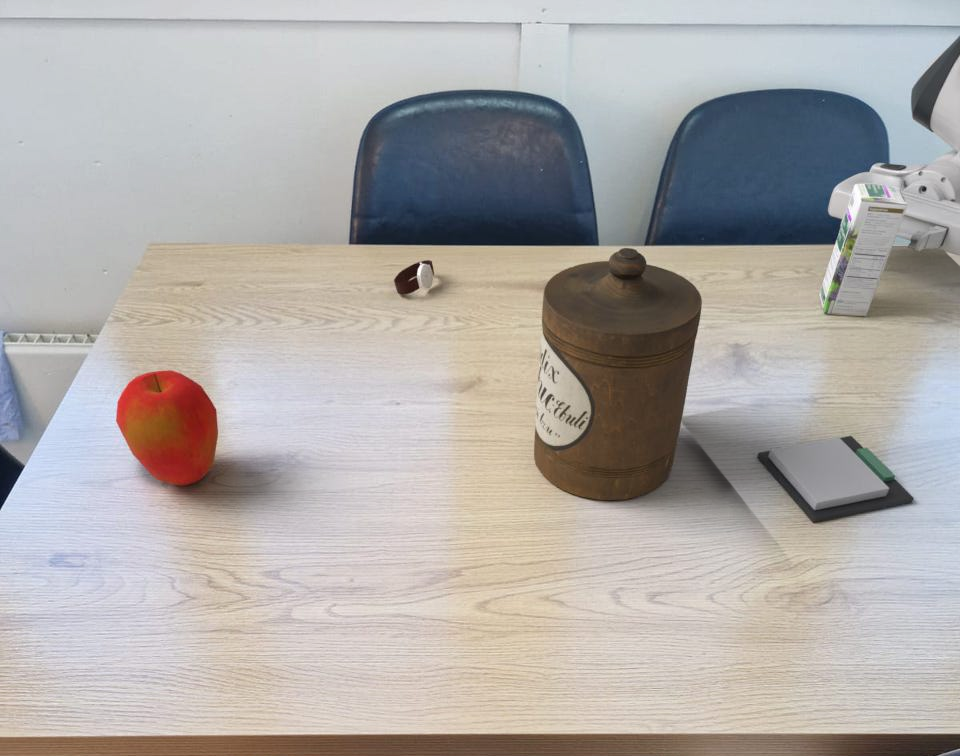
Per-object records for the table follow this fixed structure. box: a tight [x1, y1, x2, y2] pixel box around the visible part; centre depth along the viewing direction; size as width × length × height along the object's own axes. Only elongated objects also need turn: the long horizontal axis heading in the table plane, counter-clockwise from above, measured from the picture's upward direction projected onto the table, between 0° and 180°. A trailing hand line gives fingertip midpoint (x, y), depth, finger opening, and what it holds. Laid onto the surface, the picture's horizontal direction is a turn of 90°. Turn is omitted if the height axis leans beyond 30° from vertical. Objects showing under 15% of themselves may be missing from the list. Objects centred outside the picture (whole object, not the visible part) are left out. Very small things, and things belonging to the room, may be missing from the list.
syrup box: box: [818, 184, 907, 317], centre depth 110 cm, size 6×6×14 cm
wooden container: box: [533, 247, 703, 501], centre depth 84 cm, size 15×15×22 cm
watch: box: [393, 259, 435, 296], centre depth 117 cm, size 8×5×4 cm, turn 155°
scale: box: [757, 435, 915, 524], centre depth 87 cm, size 11×11×3 cm
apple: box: [115, 369, 219, 486], centre depth 85 cm, size 9×9×12 cm
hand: (880, 232), depth 112 cm, fingers open, 8 cm apart
